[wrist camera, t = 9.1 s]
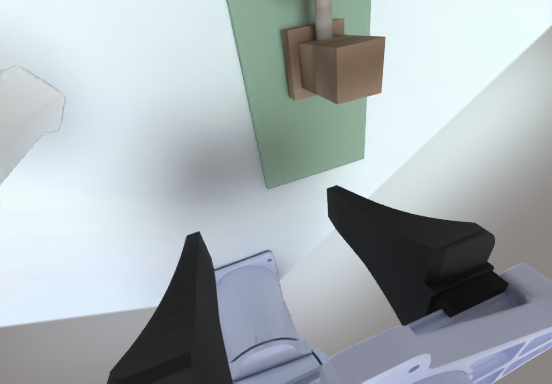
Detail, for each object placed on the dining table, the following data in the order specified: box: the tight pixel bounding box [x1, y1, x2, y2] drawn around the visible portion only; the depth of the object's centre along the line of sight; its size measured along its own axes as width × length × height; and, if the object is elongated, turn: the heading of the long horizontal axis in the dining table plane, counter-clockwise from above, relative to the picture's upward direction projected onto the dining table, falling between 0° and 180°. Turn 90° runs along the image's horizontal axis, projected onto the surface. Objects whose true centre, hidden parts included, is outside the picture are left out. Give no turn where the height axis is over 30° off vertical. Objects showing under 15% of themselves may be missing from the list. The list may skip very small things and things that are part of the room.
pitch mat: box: [227, 0, 371, 189], centre depth 20 cm, size 19×10×1 cm, turn 9°
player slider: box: [281, 0, 385, 105], centre depth 15 cm, size 8×4×6 cm, turn 9°
